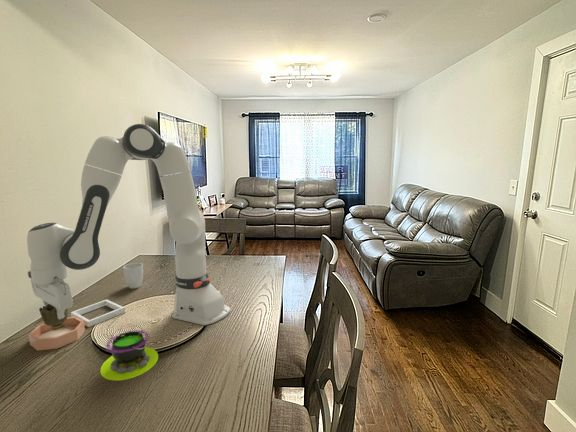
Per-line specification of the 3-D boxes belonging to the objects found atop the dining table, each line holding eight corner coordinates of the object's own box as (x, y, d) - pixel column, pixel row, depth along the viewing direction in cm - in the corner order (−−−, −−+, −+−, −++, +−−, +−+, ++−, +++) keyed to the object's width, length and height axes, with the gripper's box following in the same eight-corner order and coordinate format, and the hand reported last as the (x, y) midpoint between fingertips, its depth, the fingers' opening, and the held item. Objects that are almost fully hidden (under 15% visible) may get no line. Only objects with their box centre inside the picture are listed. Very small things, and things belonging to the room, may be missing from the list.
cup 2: (39, 336, 98) (34, 311, 97) (49, 326, 105) (45, 303, 104) (66, 330, 100) (62, 306, 99) (75, 321, 107) (70, 299, 106)
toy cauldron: (166, 363, 90) (164, 328, 88) (109, 389, 80) (104, 350, 78) (147, 341, 101) (144, 310, 99) (94, 362, 91) (89, 327, 89)
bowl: (91, 334, 105) (89, 324, 105) (42, 354, 94) (41, 344, 93) (72, 322, 113) (70, 313, 112) (25, 340, 101) (23, 330, 101)
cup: (148, 283, 148) (146, 263, 147) (138, 290, 140) (136, 269, 139) (131, 282, 149) (130, 262, 147) (121, 289, 141) (119, 268, 139)
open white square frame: (124, 312, 120) (124, 307, 120) (88, 327, 109) (88, 322, 109) (107, 303, 127) (106, 299, 127) (71, 317, 116) (70, 312, 116)
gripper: (76, 277, 96) (81, 319, 99) (48, 265, 108) (53, 303, 110) (52, 284, 91) (58, 328, 94) (25, 270, 102) (31, 310, 105)
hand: (55, 314), depth 102 cm, fingers closed on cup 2, 7 cm apart
